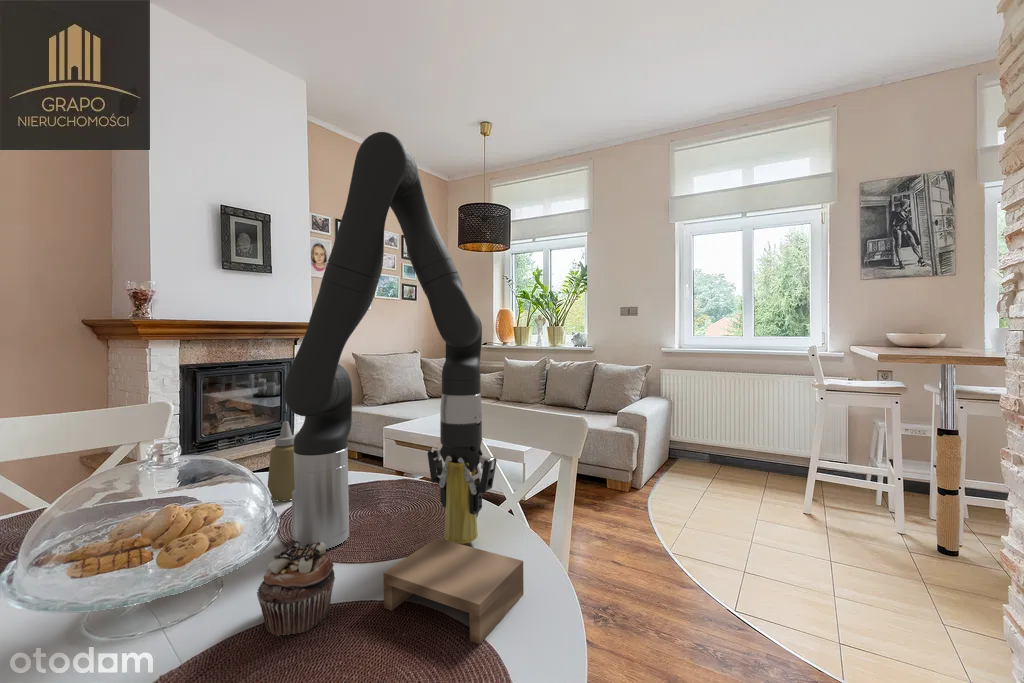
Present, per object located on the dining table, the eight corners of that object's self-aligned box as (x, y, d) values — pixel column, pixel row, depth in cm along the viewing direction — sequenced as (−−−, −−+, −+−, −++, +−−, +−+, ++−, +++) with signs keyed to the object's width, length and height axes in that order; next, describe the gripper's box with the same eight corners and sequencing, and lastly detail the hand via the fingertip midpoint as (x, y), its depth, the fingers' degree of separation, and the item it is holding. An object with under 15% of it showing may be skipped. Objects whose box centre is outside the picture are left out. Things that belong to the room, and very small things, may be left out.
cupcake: (341, 593, 67) (340, 526, 67) (326, 636, 58) (325, 559, 57) (272, 600, 66) (271, 532, 65) (245, 646, 56) (243, 566, 56)
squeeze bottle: (259, 503, 103) (257, 424, 102) (283, 490, 111) (281, 418, 110) (291, 505, 102) (290, 425, 101) (313, 492, 110) (311, 418, 109)
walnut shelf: (383, 607, 64) (383, 572, 63) (436, 568, 74) (436, 537, 74) (479, 644, 56) (479, 604, 56) (523, 594, 67) (523, 560, 66)
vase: (472, 546, 79) (472, 465, 79) (439, 542, 80) (439, 463, 80) (481, 530, 85) (481, 455, 85) (450, 527, 86) (450, 453, 86)
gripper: (416, 417, 82) (416, 509, 83) (483, 425, 75) (483, 525, 76) (441, 411, 89) (441, 496, 89) (505, 418, 82) (505, 510, 82)
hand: (461, 509), depth 82 cm, fingers closed on vase, 5 cm apart
